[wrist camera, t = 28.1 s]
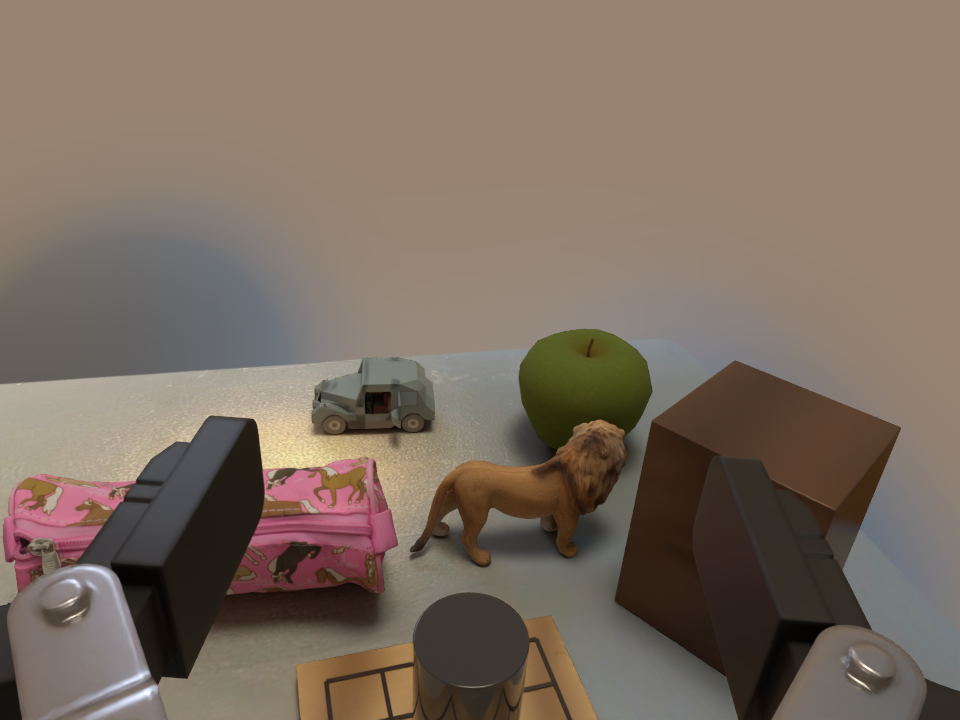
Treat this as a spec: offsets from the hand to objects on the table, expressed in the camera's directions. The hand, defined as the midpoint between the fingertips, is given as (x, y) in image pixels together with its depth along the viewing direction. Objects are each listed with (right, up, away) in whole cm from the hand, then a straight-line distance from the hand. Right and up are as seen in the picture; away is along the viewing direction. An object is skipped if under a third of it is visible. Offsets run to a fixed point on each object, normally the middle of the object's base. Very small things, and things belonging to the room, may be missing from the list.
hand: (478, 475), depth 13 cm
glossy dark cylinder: (-1, -18, +23) cm, 29 cm away
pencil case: (-16, -12, +33) cm, 39 cm away
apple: (+8, -5, +49) cm, 50 cm away
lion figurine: (+3, -11, +39) cm, 40 cm away
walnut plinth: (+16, -14, +34) cm, 40 cm away
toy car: (-9, -4, +49) cm, 50 cm away
